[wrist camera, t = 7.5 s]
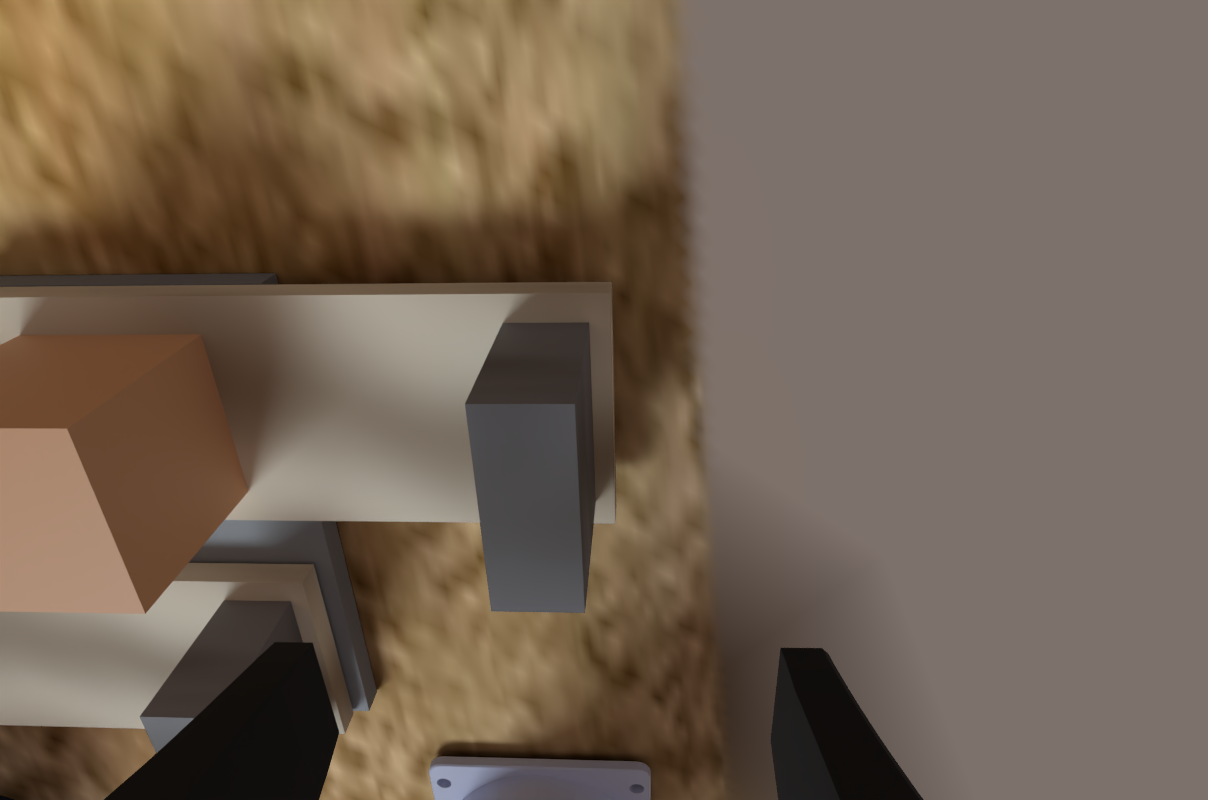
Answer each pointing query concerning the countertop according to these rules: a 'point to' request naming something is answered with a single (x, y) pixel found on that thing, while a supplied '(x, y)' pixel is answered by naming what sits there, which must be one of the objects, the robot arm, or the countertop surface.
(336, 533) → the lane board
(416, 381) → the near strip
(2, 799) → the humidifier
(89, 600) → the block
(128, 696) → the far strip
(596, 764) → the robot arm
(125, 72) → the countertop surface
